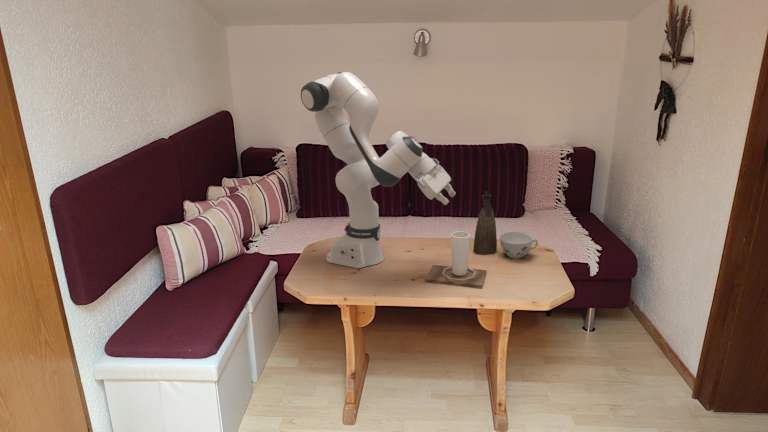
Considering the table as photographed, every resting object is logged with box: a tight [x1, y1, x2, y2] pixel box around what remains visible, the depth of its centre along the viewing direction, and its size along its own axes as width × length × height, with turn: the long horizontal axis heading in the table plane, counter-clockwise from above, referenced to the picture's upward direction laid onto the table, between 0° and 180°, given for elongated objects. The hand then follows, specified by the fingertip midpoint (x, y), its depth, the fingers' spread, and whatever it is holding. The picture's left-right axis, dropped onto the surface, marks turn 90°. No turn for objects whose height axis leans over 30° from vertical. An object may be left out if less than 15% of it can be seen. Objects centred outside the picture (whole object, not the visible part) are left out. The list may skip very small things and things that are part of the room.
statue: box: [473, 190, 498, 255], centre depth 213 cm, size 9×8×25 cm
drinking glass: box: [450, 230, 471, 276], centre depth 193 cm, size 7×7×15 cm
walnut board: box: [424, 264, 487, 289], centre depth 195 cm, size 20×13×2 cm, turn 73°
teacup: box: [499, 231, 539, 260], centre depth 212 cm, size 15×12×8 cm
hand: (450, 199), depth 189 cm, fingers open, 8 cm apart
